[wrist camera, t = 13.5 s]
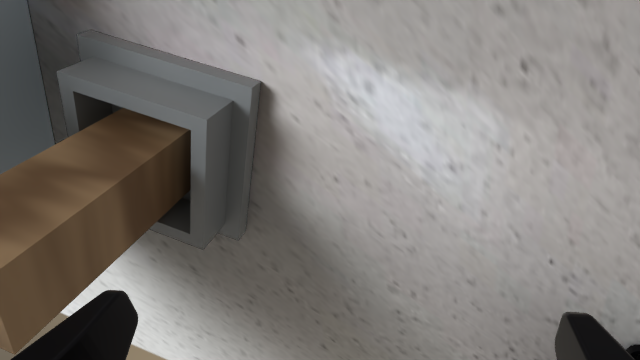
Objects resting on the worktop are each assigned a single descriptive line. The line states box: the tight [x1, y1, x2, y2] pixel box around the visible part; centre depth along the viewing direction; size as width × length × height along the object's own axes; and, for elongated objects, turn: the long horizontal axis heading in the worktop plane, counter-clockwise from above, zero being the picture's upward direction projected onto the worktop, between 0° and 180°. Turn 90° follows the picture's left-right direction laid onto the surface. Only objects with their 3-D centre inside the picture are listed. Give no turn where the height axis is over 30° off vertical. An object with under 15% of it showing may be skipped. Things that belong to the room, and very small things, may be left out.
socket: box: [57, 30, 261, 250], centre depth 24 cm, size 10×10×4 cm
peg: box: [0, 108, 191, 354], centre depth 20 cm, size 4×4×12 cm
